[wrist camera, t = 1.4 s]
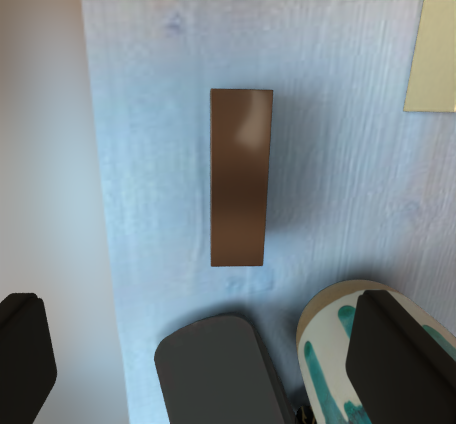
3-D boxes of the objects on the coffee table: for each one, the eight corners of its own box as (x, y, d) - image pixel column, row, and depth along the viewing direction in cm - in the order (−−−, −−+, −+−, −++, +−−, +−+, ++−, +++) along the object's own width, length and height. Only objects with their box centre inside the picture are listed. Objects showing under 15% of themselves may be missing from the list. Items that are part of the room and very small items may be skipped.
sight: (148, 338, 26) (189, 321, 36) (215, 602, 22) (242, 501, 31) (249, 303, 25) (264, 295, 34) (343, 577, 20) (330, 479, 30)
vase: (394, 247, 26) (813, 558, 8) (400, 344, 30) (703, 717, 11) (273, 275, 26) (414, 642, 8) (292, 369, 30) (423, 774, 12)
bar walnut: (210, 92, 22) (210, 88, 17) (259, 93, 22) (273, 89, 17) (210, 237, 25) (210, 267, 20) (253, 236, 25) (263, 266, 21)
